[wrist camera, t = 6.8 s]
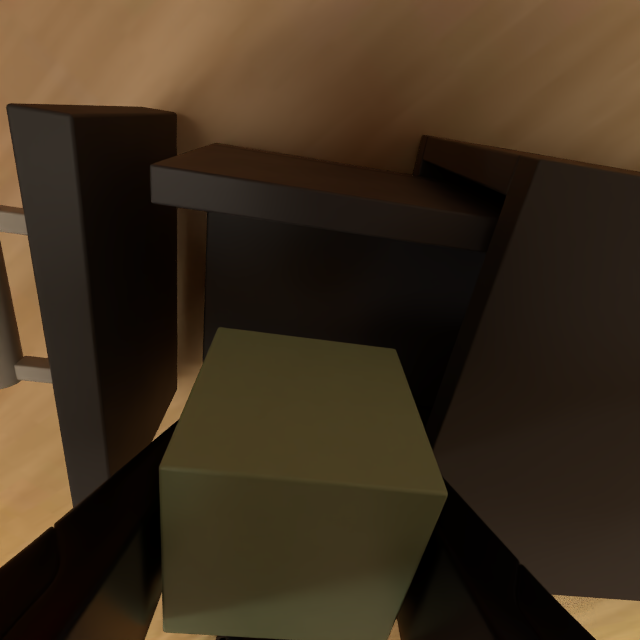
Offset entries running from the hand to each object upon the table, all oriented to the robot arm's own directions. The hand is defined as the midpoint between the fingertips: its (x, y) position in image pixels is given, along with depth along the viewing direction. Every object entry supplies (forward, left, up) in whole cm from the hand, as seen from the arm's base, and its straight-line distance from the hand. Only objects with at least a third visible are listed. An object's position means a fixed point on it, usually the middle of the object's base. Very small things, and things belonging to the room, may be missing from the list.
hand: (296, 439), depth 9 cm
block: (0, 0, -1) cm, 1 cm away
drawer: (0, +2, -8) cm, 9 cm away
